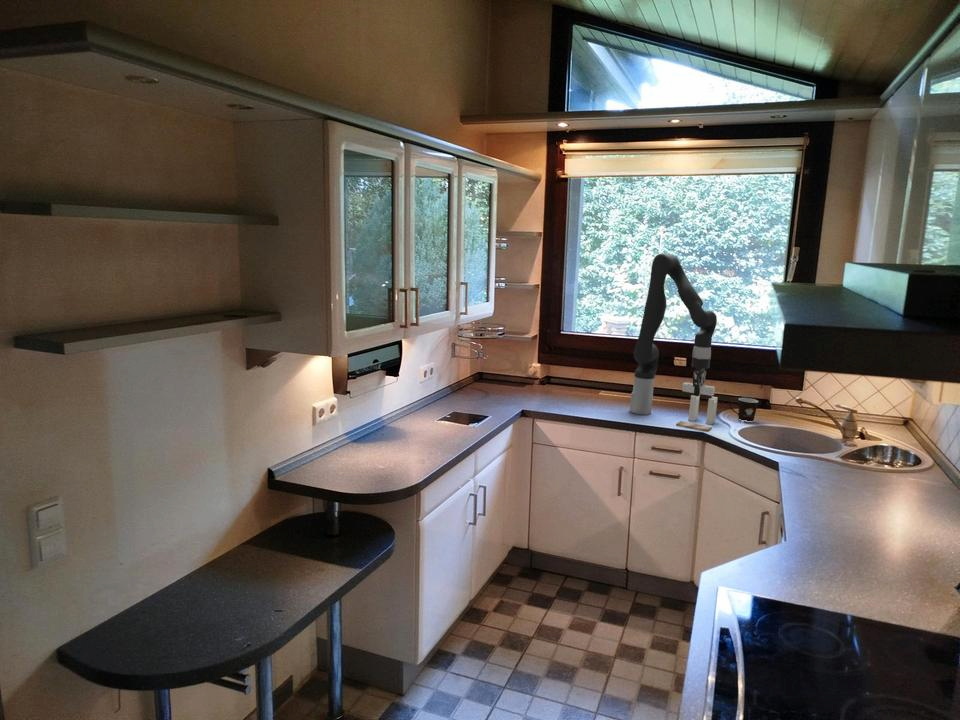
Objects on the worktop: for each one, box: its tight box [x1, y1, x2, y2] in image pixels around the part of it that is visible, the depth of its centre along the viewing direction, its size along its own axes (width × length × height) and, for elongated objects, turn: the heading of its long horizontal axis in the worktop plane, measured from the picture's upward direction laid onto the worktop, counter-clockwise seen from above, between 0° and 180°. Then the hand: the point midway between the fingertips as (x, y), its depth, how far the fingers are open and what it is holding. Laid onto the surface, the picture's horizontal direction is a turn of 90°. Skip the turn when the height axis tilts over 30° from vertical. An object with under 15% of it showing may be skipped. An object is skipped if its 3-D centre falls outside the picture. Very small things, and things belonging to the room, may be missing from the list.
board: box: [675, 420, 712, 433], centre depth 294 cm, size 14×6×1 cm, turn 57°
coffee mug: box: [729, 397, 759, 422], centre depth 308 cm, size 12×9×10 cm
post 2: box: [705, 396, 719, 425], centre depth 302 cm, size 2×6×12 cm, turn 147°
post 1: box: [688, 394, 701, 422], centre depth 306 cm, size 2×6×12 cm, turn 147°
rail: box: [681, 382, 716, 397], centre depth 291 cm, size 13×4×4 cm, turn 57°
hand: (697, 394), depth 291 cm, fingers closed on rail, 3 cm apart
